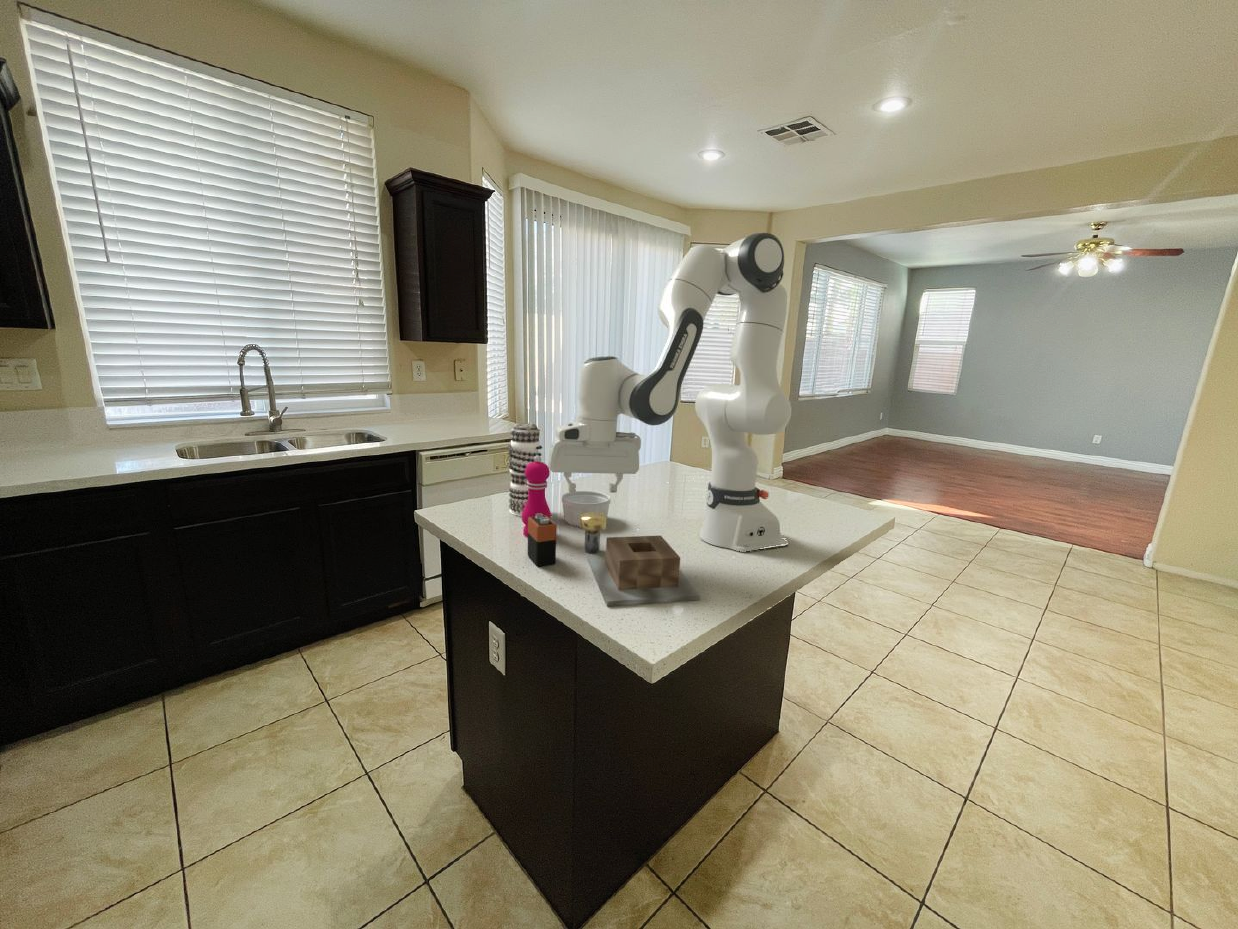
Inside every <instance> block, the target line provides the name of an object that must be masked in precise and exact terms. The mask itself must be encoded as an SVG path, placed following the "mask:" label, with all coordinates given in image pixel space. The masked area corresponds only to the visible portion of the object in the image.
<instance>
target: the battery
mask: <svg viewBox="0 0 1238 929" xmlns="http://www.w3.org/2000/svg"><path fill="white" fill-rule="evenodd" d="M557 526H558V525H557V524H556V522H554V521H553V520H552V519H551V520H550V519H549V518H548V517H547V516H546V515H544V516H543V514H536V516H535V517H529V518H528V537H527V556H528V557H529V559H530V560H531V561H532V563H533V564H535V565H536V567H544V566H550V565H551V566H552V565H555V564H556V561H557V560H556V559H557V557H556V555H557Z"/></svg>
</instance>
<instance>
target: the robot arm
mask: <svg viewBox="0 0 1238 929" xmlns="http://www.w3.org/2000/svg"><path fill="white" fill-rule="evenodd" d="M784 266H785V252H784V247H783V245H782V243H781V240H780V239H779V238H778V237H777V236H776V235H774V234H772V233H769V232H757V233H752V234H750V235H748V236H747V237H743V238H740V239H738V240H736V241H734V242H732V243H730V244H729V245H728V246H726V247H724V248H723V249H721V250H718V249H717V248H715V247H714V246H712V245H708V244H698V245H695V246H693V247H692V248H690V249H689V250H688V252H687V253H686V254H685V255H684V257H682V259H681V260H680V262H679V263H678V265H676V267H675V269H674V270H673V272H672V273H671V276H670V277H669V279H668V281H667V283H666V284H665V286H664V289H663V291H662V293H661V295H660V298H659V301H658V303H657V313H658V316H659V318H660V321H661V322H662V324H663V325H664V326H665V327H666V328H667V329H668V338H667V340H666V343H665V345H664V348H663V350H662V352H661V355H660V357H659V359H658V361H657V364H656V366H655V368H654V369H653V370H652V371H651V372H650V373H649V374H647V375H644V374H640V373H638V372H636V371H635V370H632V369H630V368H629V367H627V366H626V365H625V364H624V363H623V362H621V360H620V359H619V358H618V357H616V356H614V355H613V356H611V355H608V356H597V357H591V358H588V359H586V360H585V361H584V362H583V364H582V367H581V371H580V374H579V375H580V377H579V384H578V394H577V395H578V402H579V407H578V408H579V409H578V411H577V415H576V416H577V417H576V421H572V422H570V423H565V424H562V425H559V426H557V427H556V429H555V435H556V436H555V438H554V439H553V441H552V442H551V444H550V445H551V446H550V449H549V455H548V465H547V466H548V467H549V471H550V472H552V473H563V476H564V478H565V479H566V482H567V491H568V492H576V491H577V490H576V488H577V485H576V484H577V483H575V482H572V481H571V479H570V478H572V474H612V475H613V474H614V477H615V479H614V481H613V483H608V484H609V487H608V488H609V489H608V491H609V493H613V494H614V493H615V494H616V493H617V492H618V486H619V485H620V484H621V481H622V480H623V479H624V478H623V477H624V475H626V474H627V475H636V474H637V472H639V470H640V453H639V451H640V450H641V446H642V440H641V439H642V438H641V437H640V436H639V435H638V434H636V432H624V431H623V432H622V431H617V429H618V428H617V427H618V417H619V415H624V416H627V417H630V418H632V419H635V420H638V421H640V422H641V423H644V424H646V425H648V426H659V425H663V424H665V423H666V422H667V421H670V419H671V418H672V417H673V416H674V414H675V413H676V411H677V409H678V405H679V401H680V396H681V395H680V394H681V389H682V385H683V381H684V379H685V376H686V374H687V371H688V369H689V367H690V364H691V361H692V360H693V358H694V355H695V353H696V350H697V347H698V345H699V343H700V340H701V338H702V337H701V336H702V334H703V330H704V321H705V319H706V316H707V314H708V312H709V310H710V308H711V306H712V304H713V303H714V300H715V298H716V296H717V295H720V296H732V295H733V296H734V295H735V294H738V298H739V303H740V304H739V305H740V306H739V313H738V317H737V320H736V324H735V327H734V332H733V337H732V341H731V342H732V343H731V345H730V350H729V359H730V361H731V363H732V364H733V365H734V366H735V367H736V368H737V369H738V370H739V378H740V381H739V385H738V384H729V383H721V384H712V385H707V386H705V387H703V388H702V389H701V390H699V393H698V394H697V396H696V399H695V404H694V409H695V413H696V416H697V417H698V419H699V420H700V421H701V423H702V424H703V426H704V428H705V430H706V431H707V432H706V433H707V435H708V438H709V442H710V447H711V470H710V471H711V472H710V482H708V485H707V492H706V511H705V515H704V517H703V518H704V519H703V522H702V524H701V528H700V531H699V532H698V536H699V538H700V539H701V540H702V541H704V542H706V543H707V544H709V545H712V546H713V545H714V546H716V547H720V548H725V549H730V550H734V551H736V552H739V551H740V552H739V553H747V552H746V551H750V552H752V551H751V550H756V549H760V548H764V547H769V546H776V545H781V544H786V543H788V544H789V540H788V538H787V537H786V536H785V535H784V534H783V535H781V534H782V532H781V524H780V520H779V518H778V517H777V516H776V515H775V514H774V513H773V512H772V511H771V510H770V509H769V508H768V507H767V506H765V505H764V503H762V502H761V499H763V500H768V498H769V497H770V493H769V492H768V491H766V490H765V489H760V488H759V487H757V486H756V483H757V482H756V481H757V475H758V474H757V472H758V466H759V464H758V463H759V459H758V458H759V457H758V455H757V453H756V452H755V451H754V450H753V448H751V446H750V445H749V443H748V441H747V439H746V435H745V433H747V434H752V435H757V436H762V435H764V436H765V435H777V434H779V433H781V432H782V431H783V430H784V429H785V428H786V427H787V426H788V424H789V422H790V421H791V416H792V405H791V402H790V399H789V398H788V396H787V394H785V392H784V391H783V389H782V388H781V386H780V383H779V379H778V373H777V372H778V371H777V365H778V364H777V362H778V356H779V350H780V345H781V341H782V338H783V337H782V336H783V333H784V328H785V324H786V319H787V318H786V317H787V310H788V309H787V308H788V292H787V290H786V288H785V287H784V286H783V285H782V284H781V283H780V282H781V281H782V279H783V278H784ZM782 538H786V539H785V540H788V541H785V540H784V539H782Z"/></svg>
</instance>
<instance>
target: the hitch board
mask: <svg viewBox="0 0 1238 929" xmlns="http://www.w3.org/2000/svg"><path fill="white" fill-rule="evenodd" d="M587 562H588V564H589V567H590V569H591V572H592V574H593V577H594V579H595V581H596V584H597V586H598V588H599V591H600V593H601V595H602V597H603V601H604V602H605V605H606V607H617V606H618V607H619V606H633V605H647V604H649V605H650V604H661V603H664V604H665V603H676V602H687V601H701V594H700V593H699V592H698V590H697V589H696V588H695V587H694V586H693V585H692V583H691V582H690V581H689V579H688V578H687V577H686V576H685V574H683V572H682V571H681V570H680V568H681V556H680V555H678V553H677V552H676V550H674V549H673V547H672V546H671V545H670V544H669V543H668V542H667V541H666V539H665V538H664V537H663V536H662V535H640V536H639V535H638V536H637V535H636V536H635V535H633V536H613V537H611V536H610V537H609V536H607V537H606V543H605V555H604V556H589V557H587Z"/></svg>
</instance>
